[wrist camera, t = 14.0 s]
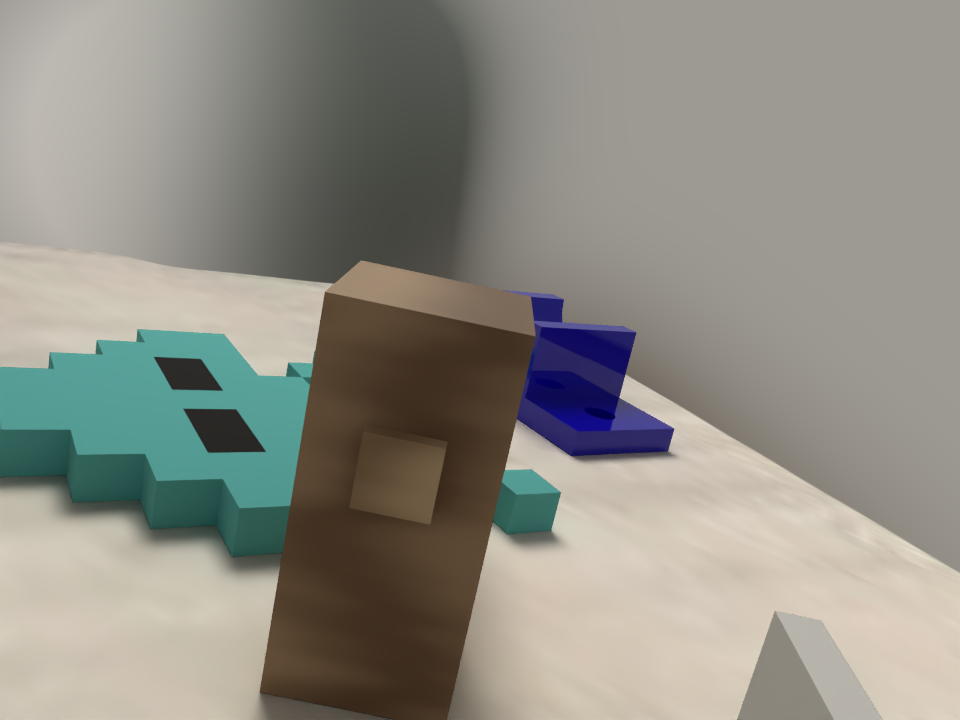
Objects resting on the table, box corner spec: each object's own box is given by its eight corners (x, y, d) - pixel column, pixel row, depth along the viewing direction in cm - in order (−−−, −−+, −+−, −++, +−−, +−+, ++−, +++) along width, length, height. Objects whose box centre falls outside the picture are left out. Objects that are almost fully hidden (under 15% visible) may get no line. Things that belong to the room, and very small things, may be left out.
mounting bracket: (411, 352, 59) (427, 268, 58) (496, 355, 63) (513, 276, 62) (569, 463, 45) (596, 355, 44) (666, 457, 49) (694, 358, 48)
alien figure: (366, 377, 52) (-13, 364, 42) (372, 342, 52) (-10, 320, 41) (548, 540, 36) (5, 586, 25) (560, 492, 35) (10, 519, 25)
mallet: (254, 704, 22) (320, 295, 19) (351, 488, 36) (398, 228, 33) (443, 742, 22) (536, 341, 20) (468, 512, 36) (525, 255, 33)
